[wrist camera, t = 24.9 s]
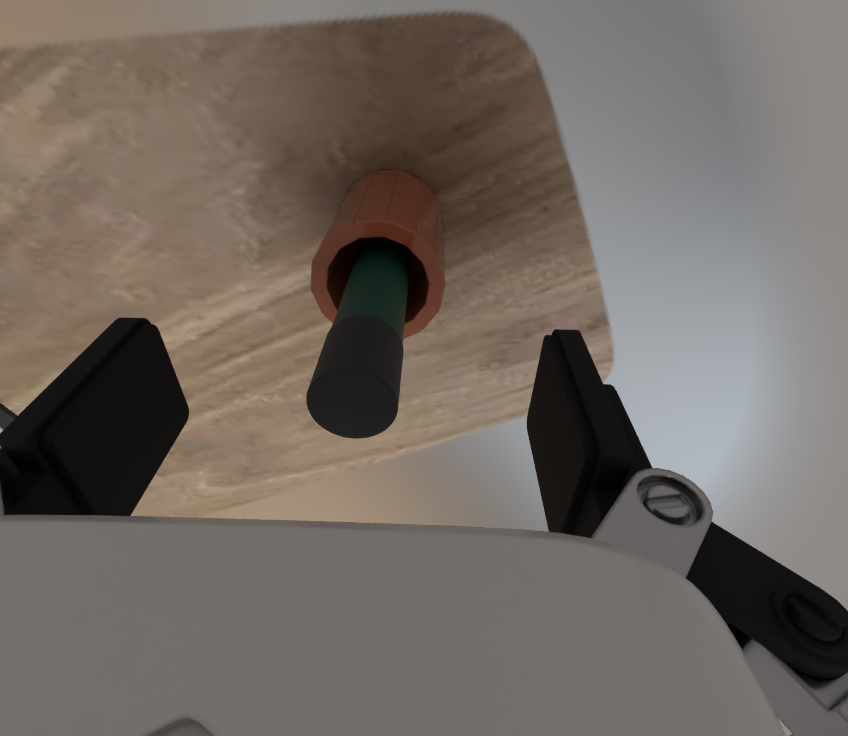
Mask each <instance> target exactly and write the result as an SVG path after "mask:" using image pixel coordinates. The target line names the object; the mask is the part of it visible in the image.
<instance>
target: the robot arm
mask: <svg viewBox="0 0 848 736" xmlns="http://www.w3.org/2000/svg"><path fill="white" fill-rule="evenodd" d="M188 416H189V408H188V405H187V402H186V400H185V397H184V394H183V392H182V389H181V387H180V384H179V381H178V379H177V376H176V374H175V371H174V368H173V366H172V363H171V361H170V358H169V355H168V353H167V350H166V348H165V345H164V342H163V340H162V337H161V335H160V332H159V330H158V328H157V327H156V326H155V325H153V324H151V323H150V322H149V321H148V320H147V319H145V318H118V319H116V320H115V321H114V322H113V323H112V324H111V325H110V326H109V327H108V328H107V329H106V330H105V331H104V332H103V333H102V334H101V335H100V336H99V337H98V338H97V339H96V340H95V341H94V342H93V343H92V344H91V345H90V346H89V347H88V348H87V349H86V350H84V351H83V352H82V353H81V354H80V355H79V356H78V357H77V358H76V359H75V360H74V361H73V362H72V363H71V364H70V365H69V366H68V367H67V368H66V369H65V370H64V371H63V372H62V373H61V374H60V375H59V376H58V377H57V378H56V379H55V380H54V381H53V382H52V383H51V384H50V385H49V386H48V387H47V388H46V389H45V390H44V391H43V392H42V393H41V394H40V395H39V396H38V397H37V398H36V399H35V400H34V401H32V402H31V403H30V404H29V405H28V406H27V407H26V408H25V409H24V410H23V411H22V412H21V413H20V414H19V415H18V416H17V417H16V418H15V419H14V420H13V421H12V422H11V423H10V424H9V425H8V426H7V427H6V428H5V429H4V430H3V431H2V432H1V433H0V446H1V448H0V736H786V735H785V733H784V731H783V728H782V726H781V724H780V722H779V720H778V718H779V719H780V720H781V722H782V723H783V724H784V725H785V726H786V727H787V728H788V729H789V730H790V732H791V733H792V734H791V735H790V736H848V611H847V610H846V609H845V608H844V607H843V606H842V605H841V604H840V603H839V602H838V601H837V600H836V599H835V598H833V597H832V596H830V595H829V594H828V593H826V592H825V591H823V590H822V589H820V588H819V587H817V586H816V585H814V584H812V583H811V582H809V581H807V580H806V579H804V578H803V577H801V576H799V575H798V574H796V573H794V572H793V571H791V570H790V569H788V568H786V567H785V566H783V565H781V564H780V563H778V562H776V561H775V560H773V559H771V558H770V557H768V556H766V555H765V554H763V553H762V552H760V551H758V550H757V549H755V548H753V547H752V546H750V545H749V544H747V543H745V542H744V541H742V540H741V539H739V538H737V537H736V536H734V535H732V534H731V533H729V532H727V531H726V530H724V529H723V528H721V527H719V526H717V525H716V524H714V523H713V522H711V521H712V515H713V511H712V507H711V503H710V501H709V499H708V498H707V496H706V495H705V493H704V492H703V491H702V490H701V489H700V488H699V487H698V486H697V485H696V484H695V483H693V482H692V481H690V480H689V479H687V478H686V477H684V476H682V475H680V474H677V473H675V472H672V471H670V470H664V469H659V468H652V466H651V464H650V462H649V460H648V458H647V455H646V453H645V451H644V449H643V447H642V445H641V443H640V441H639V438H638V436H637V434H636V432H635V430H634V428H633V426H632V423H631V421H630V419H629V417H628V415H627V413H626V411H625V408H624V406H623V404H622V402H621V400H620V398H619V395H618V393H617V391H616V390H615V388H614V387H613V386H612V385H608V384H607V385H606V384H603V383H602V381H601V378H600V376H599V374H598V371H597V369H596V367H595V365H594V362H593V360H592V358H591V356H590V353H589V351H588V349H587V346H586V344H585V342H584V340H583V337H582V335H581V333H580V331H579V330H557V329H555V330H554V331H553V333H552V335H546V336H545V337H544V340H543V344H542V349H541V354H540V359H539V364H538V368H537V373H536V378H535V383H534V387H533V392H532V397H531V402H530V406H529V411H528V416H527V431H528V436H529V440H530V445H531V450H532V454H533V459H534V464H535V469H536V473H537V478H538V483H539V487H540V492H541V497H542V501H543V506H544V511H545V516H546V520H547V525H548V530H549V532H544V531H534V530H522V529H503V528H484V527H464V526H442V525H441V526H440V525H413V524H384V523H356V522H354V523H353V522H325V521H291V520H290V521H289V520H258V519H222V518H186V517H144V516H130V515H131V514H132V512H133V510H134V509H135V507H136V505H137V504H138V502H139V500H140V499H141V497H142V495H143V494H144V492H145V490H146V489H147V487H148V485H149V484H150V482H151V480H152V479H153V477H154V475H155V474H156V472H157V470H158V469H159V467H160V465H161V464H162V462H163V460H164V459H165V457H166V455H167V454H168V452H169V450H170V449H171V447H172V445H173V444H174V442H175V440H176V439H177V437H178V435H179V434H180V432H181V430H182V429H183V427H184V425H185V424H186V422H187V420H188ZM777 717H778V718H777Z"/></svg>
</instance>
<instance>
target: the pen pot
mask: <svg viewBox="0 0 848 736" xmlns="http://www.w3.org/2000/svg"><path fill="white" fill-rule="evenodd" d="M372 237H385V238H388V239H390V240H393V241H395V242H398V243H400V244H403V245H405V246H407V247H408V248H409V249H410V251H411V252H412V254H411V264H410V274H409V284H408V294H407V304H406V314H405V324H404V334H403V339H404V338H406V337H409V336H411V335H413V334H415V333H417V332H419V331H421V330H422V329H424V328H425V327H426V326H427V325H428V323H429V322H430V321H431V320H432V319H433V317H434V316H435V315H436V314H437V313H438V311H439V309H440V307H441V303H442V298H443V294H444V289H445V263H444V239H443V221H442V217H441V210H440V207H439V204H438V201H437V199H436V197H435V196H434V194H433V192H432V191H431V190H430V188H429V187H428V186H427V185H426V184H425V183H424V182H423V181H421V180H420V179H418V178H417V177H415V176H413V175H412V174H409V173H407V172H404V171H399V170H392V169H389V170H380V171H375V172H372V173H370V174H368V175H366V176H364V177H363V178H361V179H360V180H359V181H357V182H356V183H355V184H354V185H353V186H352V188H351V189H350V191H349V192H348V194H347V196H346V198H345V199H344V201H343V203H342V204H341V206H340V208H339V210H338V212H337V214H336V216H335V218H334V219H333V221H332V223H331V225H330V227H329V229H328V231H327V233H326V235H325V237H324V239H323V240H322V242H321V244H320V246H319V248H318V250H317V252H316V254H315V256H314V258H313V260H312V269H311V288H312V289H311V290H312V293H313V295H314V297H315V299H316V301H317V303H318V305H319V308H320V310H321V312H322V314H324V316H325V317H327V318H328V319H329V320H330V321H331V322H332V323H333V322H334V319H335V316H336V313H337V310H338V307H339V304H340V302H341V299H342V296H343V293H344V290H345V287H346V284H347V281H348V278H349V275H350V272H351V269H352V266H353V264H354V261H355V258H356V255H357V252H358V249H359V246H360V243H361V240H362V238H372Z"/></svg>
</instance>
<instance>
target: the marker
mask: <svg viewBox="0 0 848 736" xmlns="http://www.w3.org/2000/svg"><path fill="white" fill-rule="evenodd" d="M411 254H412V252H411V251H410V249H409V248H408V247H407V246H405V245H403V244H400V243H398V242H395V241H393V240H390V239H388V238H385V237H372V238H362V240H361V243H360V246H359V249H358V252H357V255H356V258H355V261H354V264H353V266H352V269H351V272H350V275H349V278H348V281H347V284H346V287H345V290H344V293H343V296H342V299H341V302H340V304H339V307H338V310H337V313H336V316H335V319H334V322H333V325H332V328H331V329H330V331H329V332H328V335H327V337H326V340H325V343H324V346H323V348H322V351H321V354H320V357H319V360H318V363H317V366H316V369H315V371H314V374H313V377H312V380H311V383H310V386H309V389H308V392H307V398H306V400H307V406H308V410H309V412H310V414H311V416H312V417H313V419H314V420H315V421H316V422H317V423H318V424H319V425H320V426H321V427H323V428H324V429H326V430H327V431H329V432H331V433H333V434H336V435H338V436H342V437H347V438H367V437H371V436H374V435H377V434H379V433H381V432H383V431H384V430H386V429H387V428H388V427H389V426H390V425H391V424H392V423H393V421H394V420H395V418H396V415H397V412H398V403H399V392H400V382H401V371H402V361H403V334H404V324H405V314H406V304H407V294H408V284H409V274H410V264H411Z"/></svg>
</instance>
